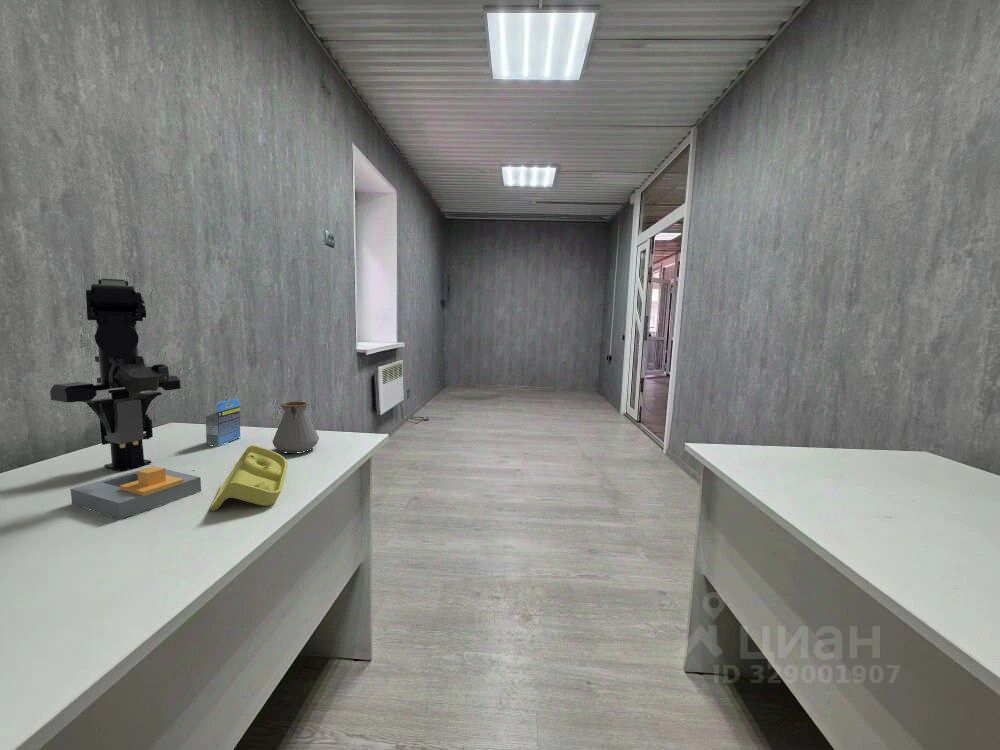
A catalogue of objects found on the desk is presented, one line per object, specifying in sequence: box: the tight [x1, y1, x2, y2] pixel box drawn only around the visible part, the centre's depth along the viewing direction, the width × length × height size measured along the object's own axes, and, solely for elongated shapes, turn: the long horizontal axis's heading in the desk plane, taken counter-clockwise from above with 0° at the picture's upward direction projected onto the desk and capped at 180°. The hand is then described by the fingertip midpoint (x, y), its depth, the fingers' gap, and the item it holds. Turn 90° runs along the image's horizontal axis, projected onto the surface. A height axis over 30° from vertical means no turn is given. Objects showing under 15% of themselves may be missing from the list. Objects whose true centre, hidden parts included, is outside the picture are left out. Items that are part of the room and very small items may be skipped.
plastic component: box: [208, 444, 288, 512], centre depth 89 cm, size 20×7×10 cm
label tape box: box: [205, 397, 241, 447], centre depth 122 cm, size 9×4×12 cm, turn 174°
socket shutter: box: [120, 465, 184, 496], centre depth 82 cm, size 7×7×3 cm
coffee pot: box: [272, 401, 320, 453], centre depth 112 cm, size 21×12×15 cm, turn 24°
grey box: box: [106, 398, 145, 448], centre depth 84 cm, size 4×4×9 cm
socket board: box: [70, 465, 202, 520], centre depth 84 cm, size 15×14×3 cm
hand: (125, 430), depth 84 cm, fingers closed on grey box, 4 cm apart
